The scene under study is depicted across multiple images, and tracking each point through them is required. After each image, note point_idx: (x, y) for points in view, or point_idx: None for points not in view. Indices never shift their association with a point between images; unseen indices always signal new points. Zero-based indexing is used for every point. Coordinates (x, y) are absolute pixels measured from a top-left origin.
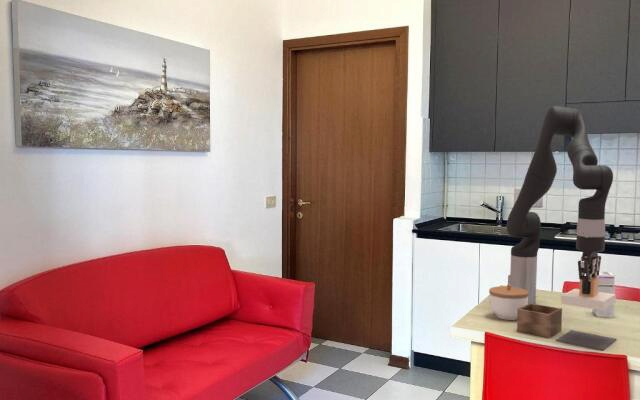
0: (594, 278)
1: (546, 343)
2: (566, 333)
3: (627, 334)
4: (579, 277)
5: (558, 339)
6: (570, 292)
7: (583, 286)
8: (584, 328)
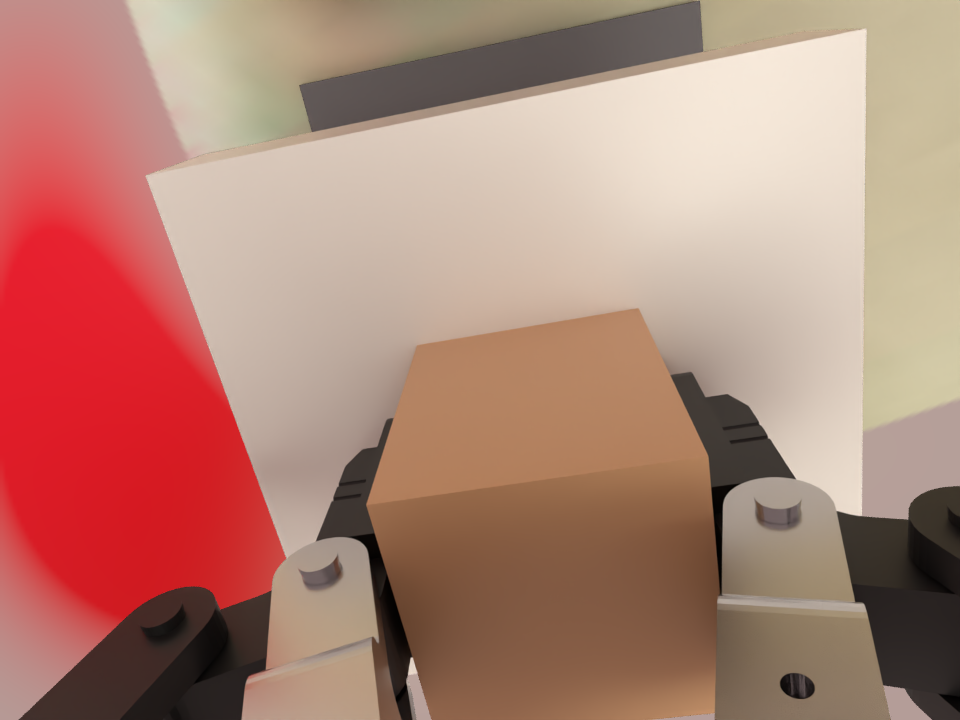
0: (578, 695)
1: (179, 67)
2: (549, 37)
3: (946, 358)
4: (111, 641)
5: (323, 95)
6: (467, 159)
7: (334, 516)
8: (895, 30)
